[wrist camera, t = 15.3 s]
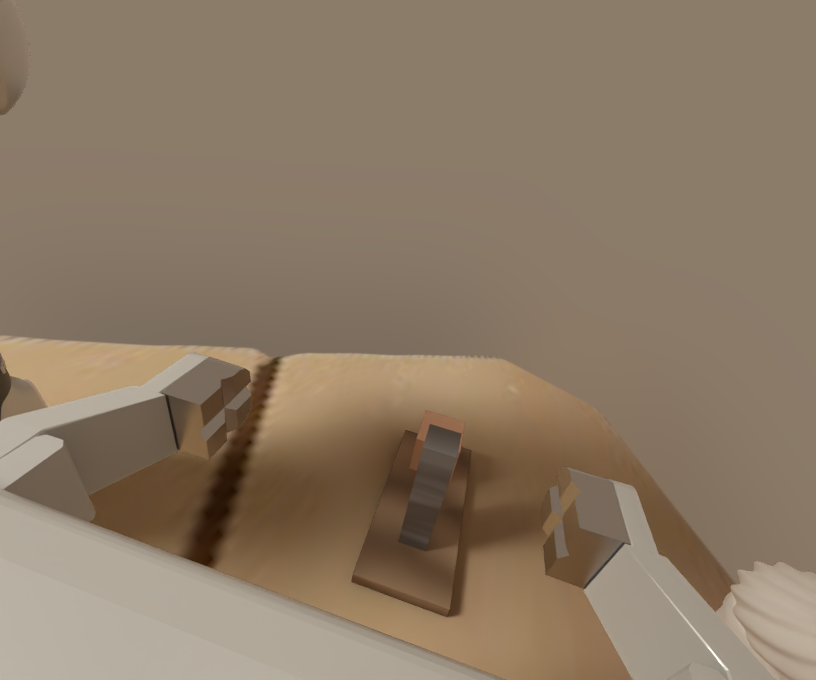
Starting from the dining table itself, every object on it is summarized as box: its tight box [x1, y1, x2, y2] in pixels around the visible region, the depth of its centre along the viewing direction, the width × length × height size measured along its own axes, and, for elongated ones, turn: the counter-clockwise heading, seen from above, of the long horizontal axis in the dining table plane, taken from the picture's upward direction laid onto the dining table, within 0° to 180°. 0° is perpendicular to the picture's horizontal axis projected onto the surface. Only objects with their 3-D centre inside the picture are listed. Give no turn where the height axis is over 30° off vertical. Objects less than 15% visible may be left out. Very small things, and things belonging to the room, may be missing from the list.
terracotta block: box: [409, 410, 465, 481], centre depth 40 cm, size 4×4×4 cm
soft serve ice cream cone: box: [716, 561, 816, 680], centre depth 23 cm, size 8×8×16 cm
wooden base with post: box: [352, 424, 471, 617], centre depth 34 cm, size 17×8×13 cm, turn 166°
